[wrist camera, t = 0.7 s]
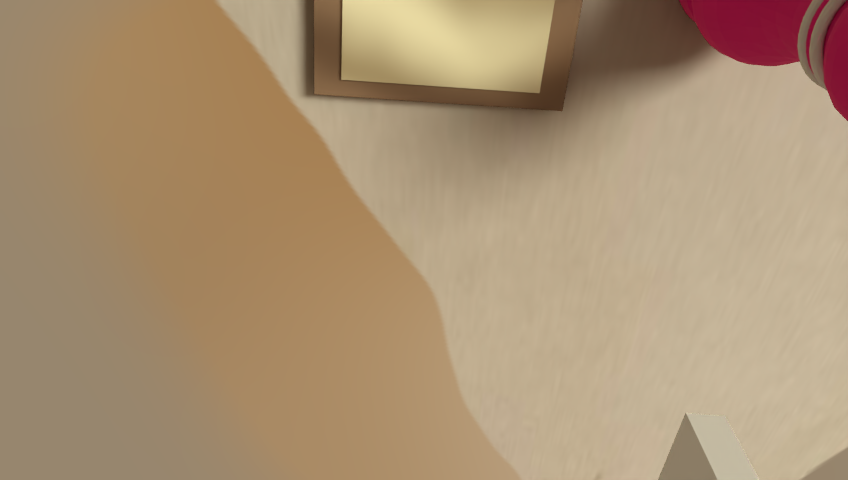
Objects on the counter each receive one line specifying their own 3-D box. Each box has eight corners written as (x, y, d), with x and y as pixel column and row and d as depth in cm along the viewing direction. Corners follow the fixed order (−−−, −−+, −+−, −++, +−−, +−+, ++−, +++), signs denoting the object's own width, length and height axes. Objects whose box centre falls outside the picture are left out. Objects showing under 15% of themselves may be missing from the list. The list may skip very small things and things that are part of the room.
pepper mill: (828, -25, 37) (1192, 103, 20) (709, 65, 39) (941, 249, 22) (763, -140, 34) (1121, -107, 17) (639, -36, 37) (842, 86, 19)
